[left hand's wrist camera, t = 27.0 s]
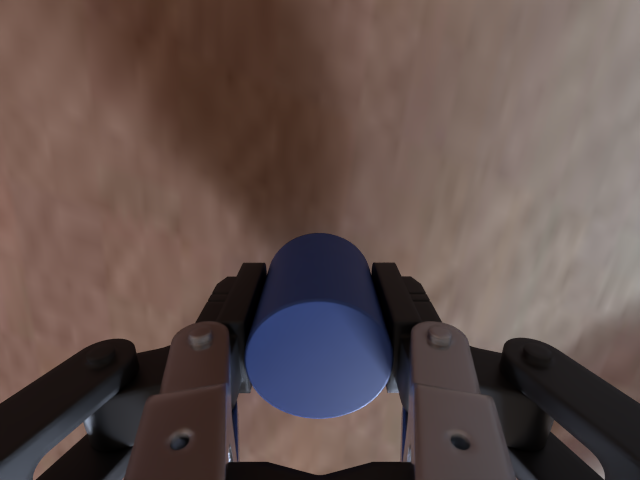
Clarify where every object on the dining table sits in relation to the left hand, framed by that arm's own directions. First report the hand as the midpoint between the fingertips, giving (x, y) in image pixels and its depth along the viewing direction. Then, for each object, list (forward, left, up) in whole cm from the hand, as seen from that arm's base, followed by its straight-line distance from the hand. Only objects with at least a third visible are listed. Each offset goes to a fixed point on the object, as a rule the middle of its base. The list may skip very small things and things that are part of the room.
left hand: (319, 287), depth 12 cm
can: (0, 0, -1) cm, 1 cm away
